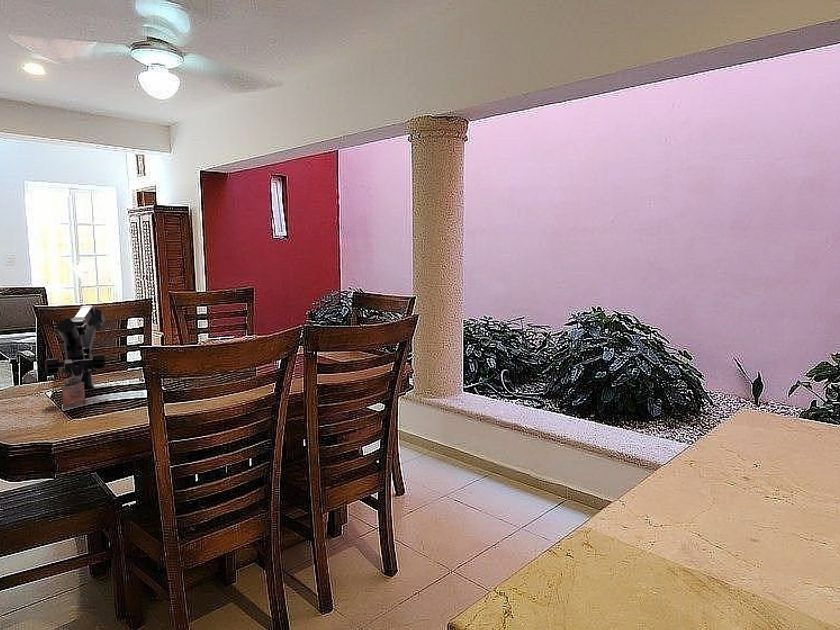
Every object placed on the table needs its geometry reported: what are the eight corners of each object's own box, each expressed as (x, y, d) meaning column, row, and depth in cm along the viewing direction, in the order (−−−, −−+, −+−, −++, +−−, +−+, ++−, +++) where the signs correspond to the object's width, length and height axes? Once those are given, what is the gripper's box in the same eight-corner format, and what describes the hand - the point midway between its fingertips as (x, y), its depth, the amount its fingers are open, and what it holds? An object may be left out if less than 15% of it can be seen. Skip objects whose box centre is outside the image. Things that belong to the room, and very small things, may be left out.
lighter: (67, 408, 195) (65, 379, 194) (60, 407, 196) (58, 379, 195) (88, 402, 203) (86, 375, 202) (81, 402, 204) (78, 374, 203)
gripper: (102, 358, 223) (107, 391, 215) (44, 363, 212) (48, 399, 205) (102, 340, 216) (108, 374, 208) (43, 345, 205) (47, 381, 197)
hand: (78, 382), depth 205 cm, fingers closed
